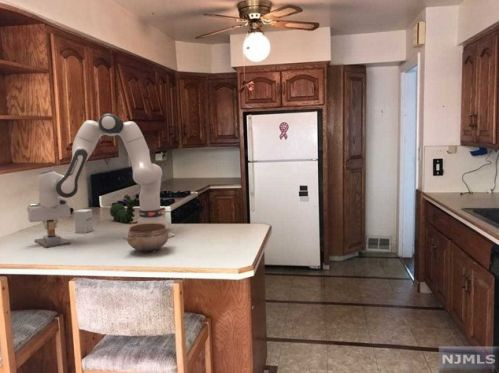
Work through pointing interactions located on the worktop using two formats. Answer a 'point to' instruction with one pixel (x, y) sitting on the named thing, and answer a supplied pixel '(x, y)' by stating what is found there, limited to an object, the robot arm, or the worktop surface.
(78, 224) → the supplement box
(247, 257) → the worktop surface
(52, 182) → the robot arm
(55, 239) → the base
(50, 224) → the brown wooden block
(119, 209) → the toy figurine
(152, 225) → the cooking pot
